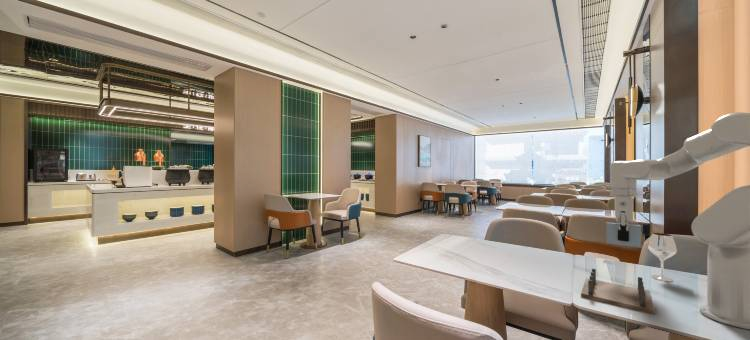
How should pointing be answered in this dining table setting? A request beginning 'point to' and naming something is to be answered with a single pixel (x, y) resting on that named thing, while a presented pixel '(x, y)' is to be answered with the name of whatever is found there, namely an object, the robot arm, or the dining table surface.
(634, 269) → the dining table surface
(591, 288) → the rack
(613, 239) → the pale blue upright panel
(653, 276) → the wineglass
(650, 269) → the dining table surface
